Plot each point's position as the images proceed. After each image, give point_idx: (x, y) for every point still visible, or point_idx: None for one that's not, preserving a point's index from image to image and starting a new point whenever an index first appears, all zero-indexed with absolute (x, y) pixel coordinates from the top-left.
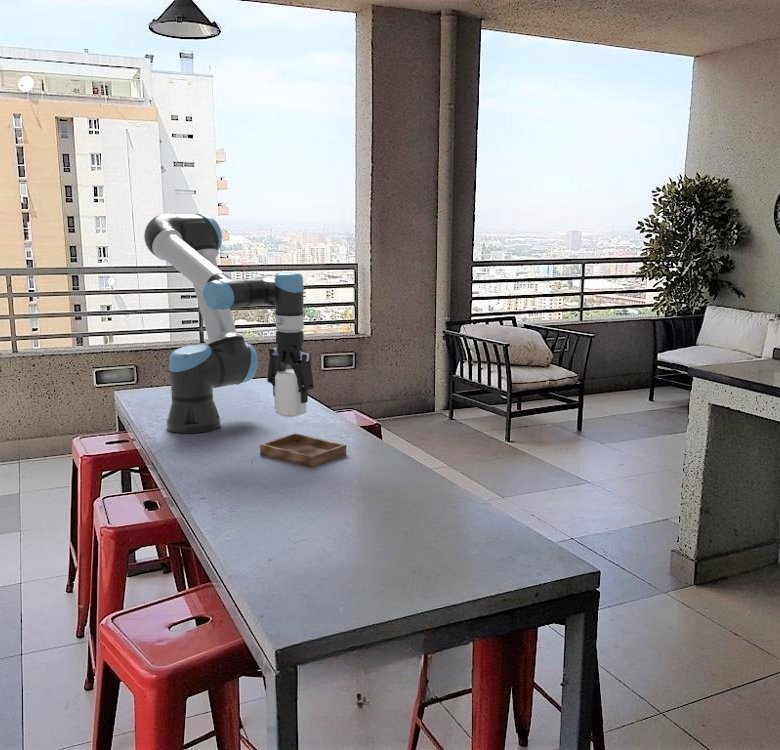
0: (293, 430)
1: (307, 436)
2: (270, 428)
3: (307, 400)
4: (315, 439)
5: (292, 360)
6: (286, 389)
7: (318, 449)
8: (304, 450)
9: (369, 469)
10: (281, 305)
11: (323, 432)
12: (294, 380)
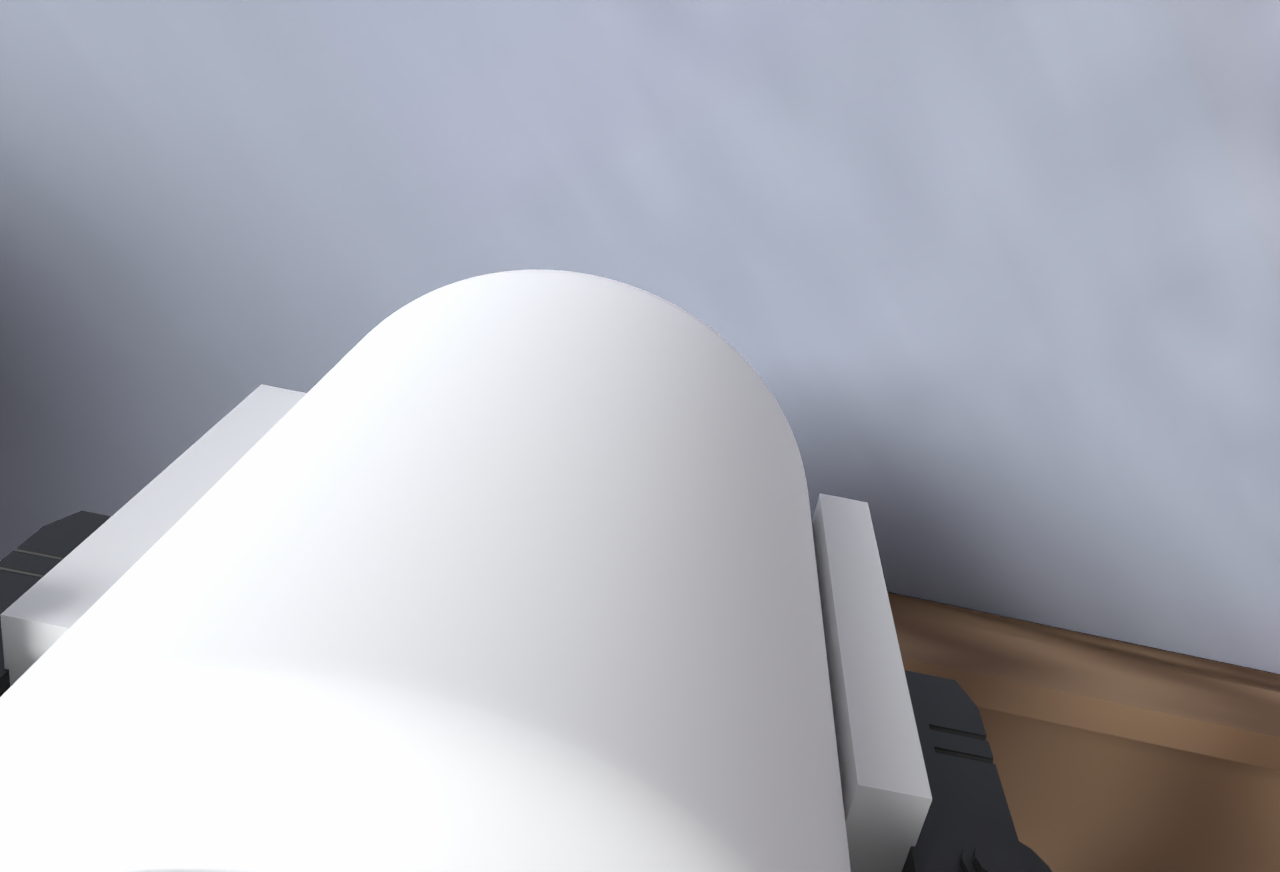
0: (481, 121)
1: (1045, 696)
2: (157, 176)
3: (976, 716)
4: (1194, 748)
5: None
6: None
7: (1259, 797)
8: (1119, 867)
9: None
10: None
11: (935, 11)
12: None
